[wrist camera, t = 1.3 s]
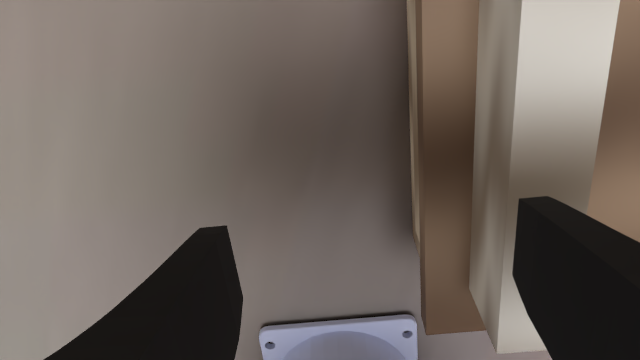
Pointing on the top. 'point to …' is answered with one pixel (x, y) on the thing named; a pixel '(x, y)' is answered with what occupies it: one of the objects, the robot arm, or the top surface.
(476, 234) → the lid
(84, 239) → the top surface
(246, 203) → the top surface
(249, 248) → the top surface
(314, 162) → the top surface
